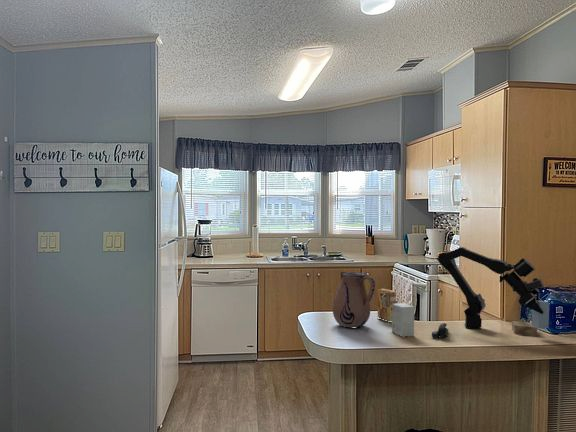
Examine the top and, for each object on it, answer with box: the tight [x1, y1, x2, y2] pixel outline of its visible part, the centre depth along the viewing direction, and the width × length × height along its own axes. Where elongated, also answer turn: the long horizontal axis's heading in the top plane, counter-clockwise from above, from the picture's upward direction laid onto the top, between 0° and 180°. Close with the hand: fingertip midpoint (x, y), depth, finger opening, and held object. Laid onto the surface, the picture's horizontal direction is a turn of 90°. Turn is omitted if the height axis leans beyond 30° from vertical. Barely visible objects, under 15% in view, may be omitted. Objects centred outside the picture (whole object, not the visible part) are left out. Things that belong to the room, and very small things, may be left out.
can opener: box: [431, 322, 449, 339], centre depth 199 cm, size 18×7×6 cm, turn 152°
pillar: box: [531, 300, 550, 329], centre depth 196 cm, size 4×4×11 cm
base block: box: [511, 320, 538, 337], centre depth 206 cm, size 9×9×4 cm
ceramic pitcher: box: [332, 271, 376, 328], centre depth 210 cm, size 18×21×25 cm
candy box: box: [377, 288, 397, 321], centre depth 223 cm, size 9×4×15 cm, turn 33°
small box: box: [391, 302, 415, 338], centre depth 198 cm, size 8×6×13 cm
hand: (544, 312), depth 195 cm, fingers closed on pillar, 6 cm apart
